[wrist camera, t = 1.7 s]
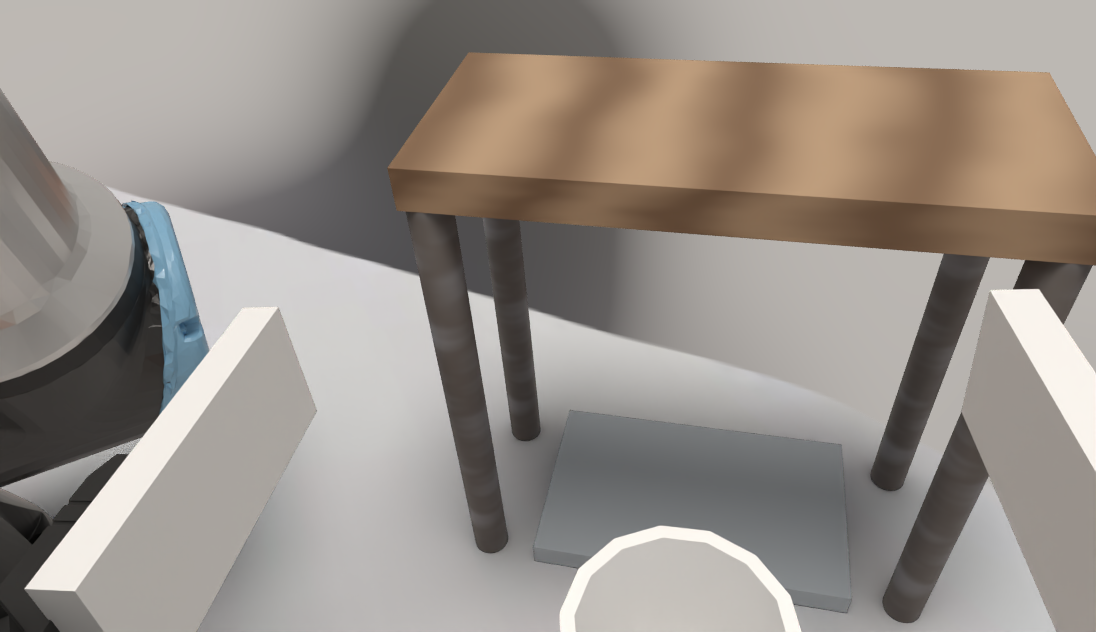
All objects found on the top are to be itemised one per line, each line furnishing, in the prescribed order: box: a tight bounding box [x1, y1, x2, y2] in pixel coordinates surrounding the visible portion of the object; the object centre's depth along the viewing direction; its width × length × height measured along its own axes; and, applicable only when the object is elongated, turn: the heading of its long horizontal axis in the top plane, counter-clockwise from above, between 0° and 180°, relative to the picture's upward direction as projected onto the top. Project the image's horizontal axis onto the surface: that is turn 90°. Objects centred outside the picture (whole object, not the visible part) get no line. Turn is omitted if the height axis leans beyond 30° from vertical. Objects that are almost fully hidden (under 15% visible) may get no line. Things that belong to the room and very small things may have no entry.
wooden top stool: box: [387, 53, 1096, 623], centre depth 41 cm, size 26×11×27 cm, turn 77°
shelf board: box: [533, 410, 852, 613], centre depth 50 cm, size 18×11×2 cm, turn 77°
